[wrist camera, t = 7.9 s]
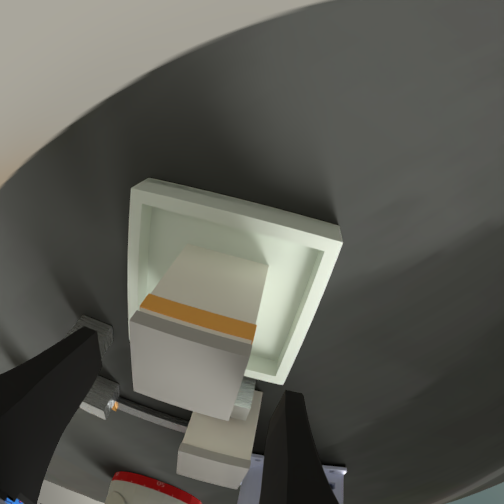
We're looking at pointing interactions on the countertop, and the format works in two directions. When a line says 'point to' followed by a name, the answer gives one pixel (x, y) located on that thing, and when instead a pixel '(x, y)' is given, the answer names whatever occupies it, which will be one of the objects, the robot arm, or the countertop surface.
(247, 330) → the white box with band
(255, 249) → the tray
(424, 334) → the countertop surface
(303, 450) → the robot arm
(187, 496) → the kitchen timer
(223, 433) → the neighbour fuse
